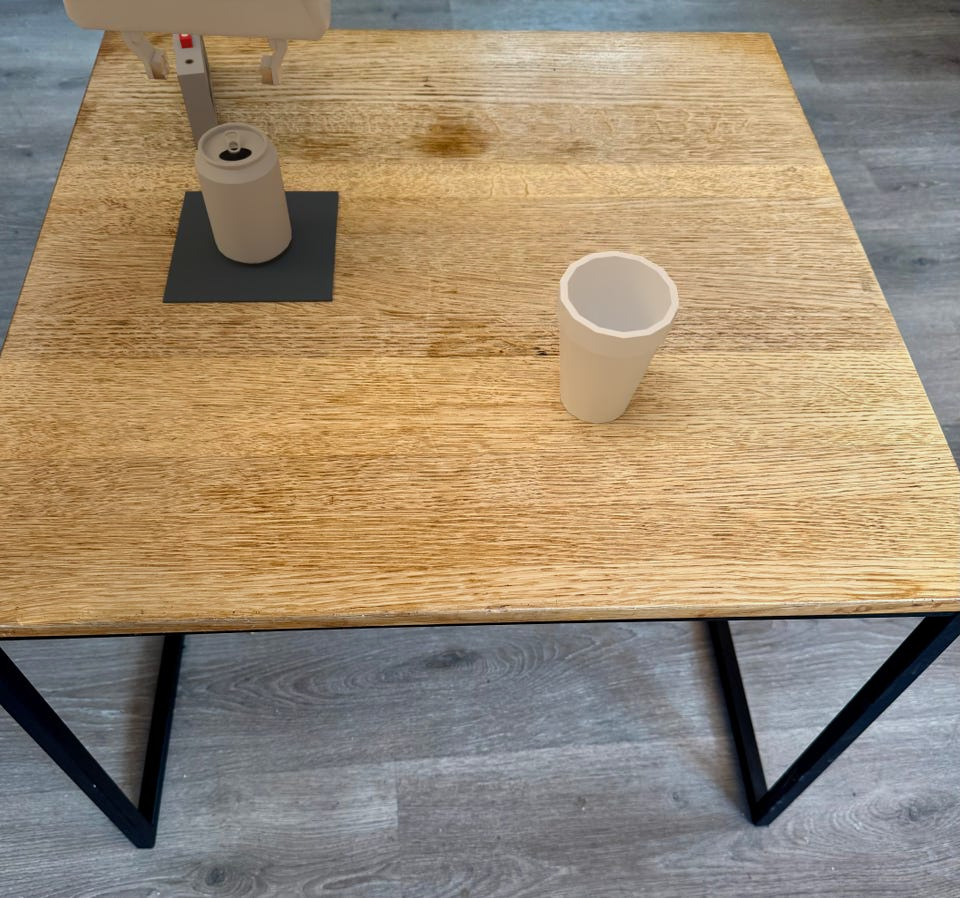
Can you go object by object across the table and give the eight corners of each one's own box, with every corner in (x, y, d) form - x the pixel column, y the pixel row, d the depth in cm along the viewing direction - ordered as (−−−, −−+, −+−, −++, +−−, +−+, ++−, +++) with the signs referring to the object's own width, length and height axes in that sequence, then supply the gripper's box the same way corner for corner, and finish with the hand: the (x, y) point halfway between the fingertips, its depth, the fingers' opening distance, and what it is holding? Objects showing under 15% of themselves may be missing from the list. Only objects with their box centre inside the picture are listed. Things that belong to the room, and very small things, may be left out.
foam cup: (665, 393, 80) (701, 290, 69) (607, 455, 75) (636, 357, 65) (581, 340, 83) (604, 234, 72) (521, 397, 79) (535, 294, 68)
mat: (162, 302, 83) (162, 301, 83) (185, 192, 92) (185, 191, 92) (332, 301, 84) (332, 299, 84) (338, 192, 94) (338, 191, 93)
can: (221, 275, 86) (193, 173, 76) (213, 224, 90) (185, 121, 80) (298, 262, 87) (281, 161, 77) (286, 213, 91) (268, 111, 81)
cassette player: (221, 147, 97) (202, 63, 89) (196, 150, 96) (174, 66, 88) (209, 67, 105) (190, -17, 97) (186, 69, 105) (165, -14, 97)
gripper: (14, -87, 60) (81, 94, 72) (313, -71, 61) (332, 106, 72) (42, -128, 64) (101, 51, 75) (324, -113, 64) (340, 63, 76)
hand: (216, 78), depth 74 cm, fingers open, 8 cm apart
